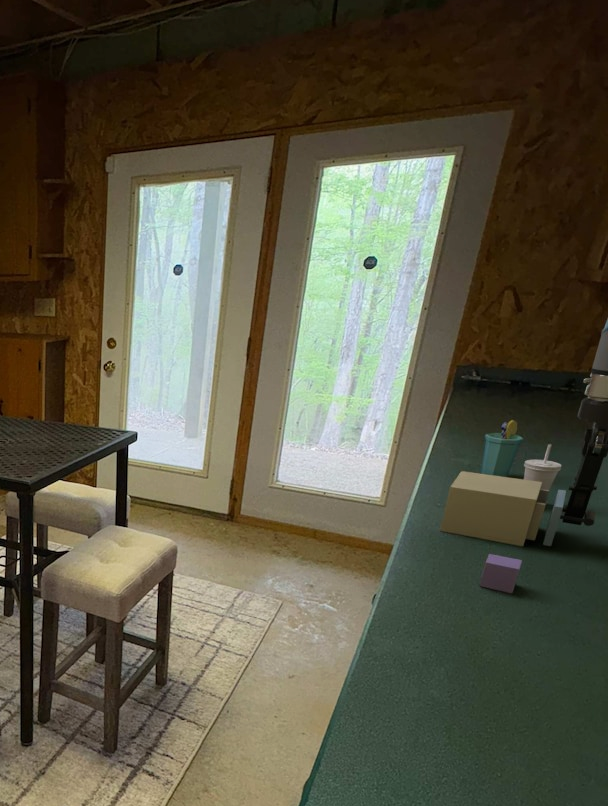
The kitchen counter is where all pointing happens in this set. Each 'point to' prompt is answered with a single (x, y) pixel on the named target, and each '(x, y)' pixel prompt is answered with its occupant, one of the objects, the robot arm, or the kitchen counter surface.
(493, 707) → the kitchen counter surface
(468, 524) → the tan drawer cabinet
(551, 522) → the drawer
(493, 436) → the cup
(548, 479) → the smoothie
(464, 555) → the kitchen counter surface
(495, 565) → the block
